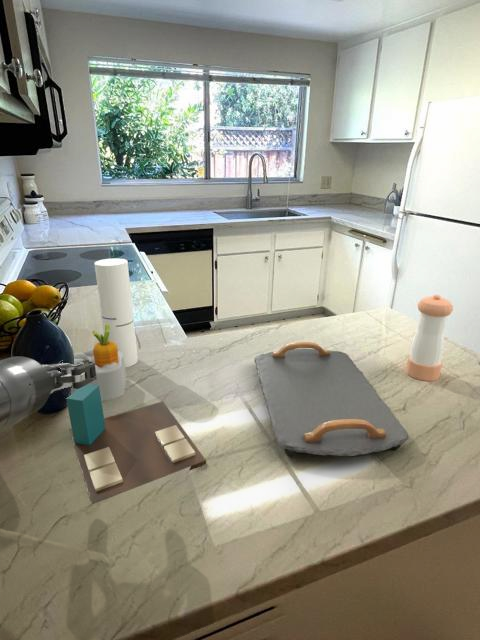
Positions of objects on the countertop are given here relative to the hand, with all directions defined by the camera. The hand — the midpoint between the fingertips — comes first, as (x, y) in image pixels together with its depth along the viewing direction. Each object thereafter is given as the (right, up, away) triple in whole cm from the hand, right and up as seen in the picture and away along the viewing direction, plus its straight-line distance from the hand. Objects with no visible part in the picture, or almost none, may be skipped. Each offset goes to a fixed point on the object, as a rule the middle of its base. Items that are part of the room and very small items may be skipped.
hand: (59, 368), depth 62 cm
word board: (+9, -15, +8) cm, 19 cm away
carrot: (0, -8, +24) cm, 25 cm away
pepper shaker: (+70, -5, +32) cm, 78 cm away
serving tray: (+44, -9, +21) cm, 50 cm away
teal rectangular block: (+1, -13, +9) cm, 16 cm away
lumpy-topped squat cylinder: (-3, -8, +24) cm, 26 cm away
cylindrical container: (-1, -3, +37) cm, 38 cm away
